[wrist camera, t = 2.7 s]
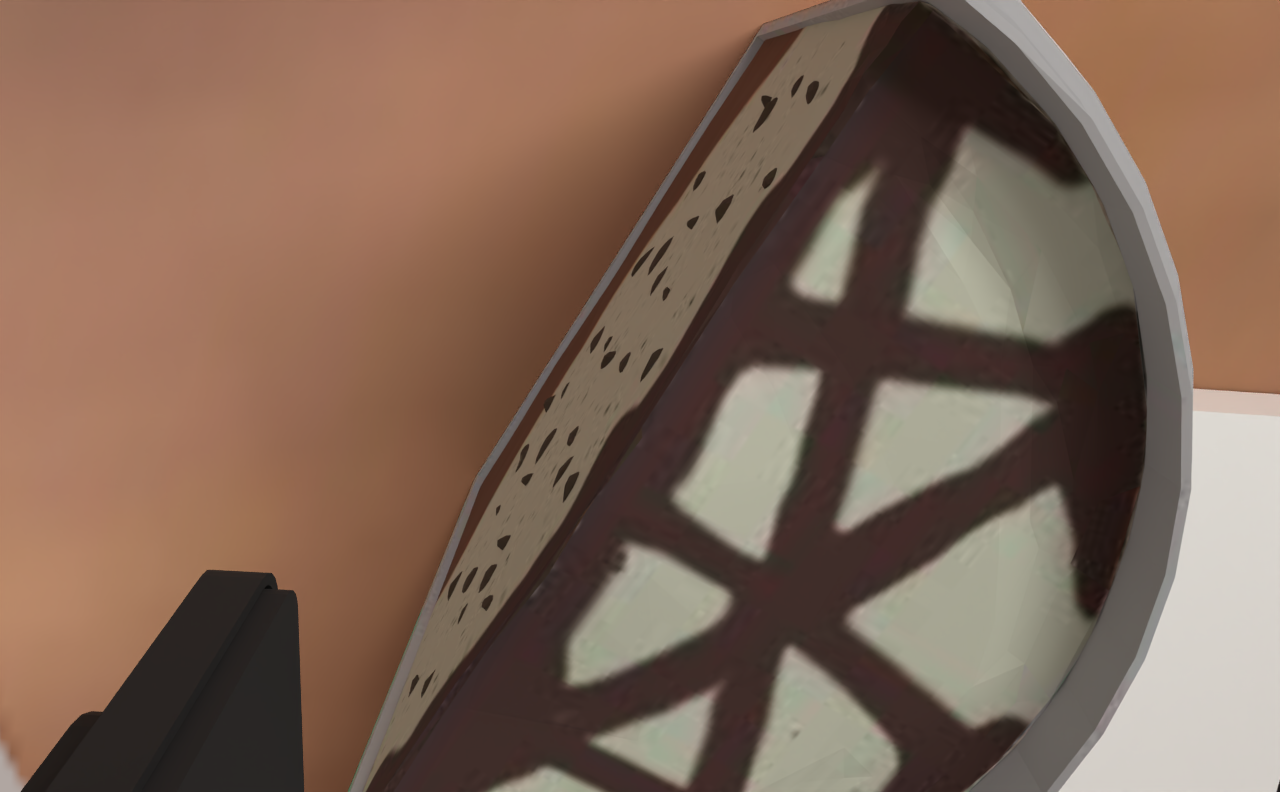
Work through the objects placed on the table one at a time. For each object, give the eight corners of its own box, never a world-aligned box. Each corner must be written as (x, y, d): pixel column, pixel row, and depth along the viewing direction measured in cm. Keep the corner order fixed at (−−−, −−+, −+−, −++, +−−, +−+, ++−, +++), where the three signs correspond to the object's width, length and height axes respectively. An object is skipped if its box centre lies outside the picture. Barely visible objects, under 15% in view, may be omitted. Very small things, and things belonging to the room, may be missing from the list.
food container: (711, 694, 23) (749, 1197, 14) (434, 541, 22) (266, 971, 12) (1125, 152, 19) (1570, 324, 10) (817, -63, 18) (987, -96, 9)
